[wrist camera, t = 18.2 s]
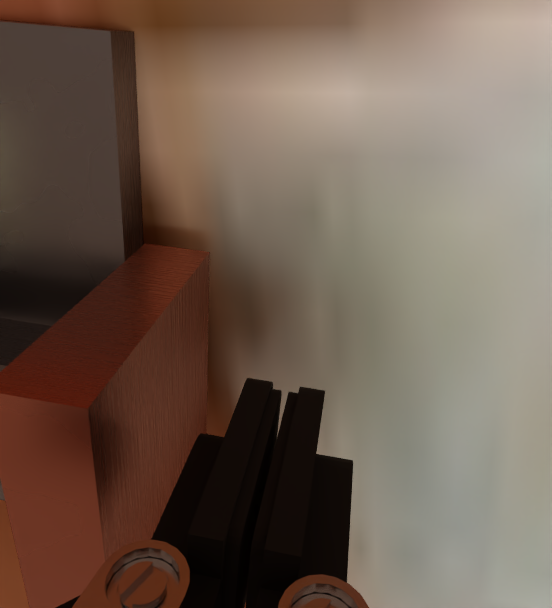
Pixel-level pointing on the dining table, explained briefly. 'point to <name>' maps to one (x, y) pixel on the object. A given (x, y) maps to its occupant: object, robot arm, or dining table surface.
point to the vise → (65, 165)
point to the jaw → (102, 417)
